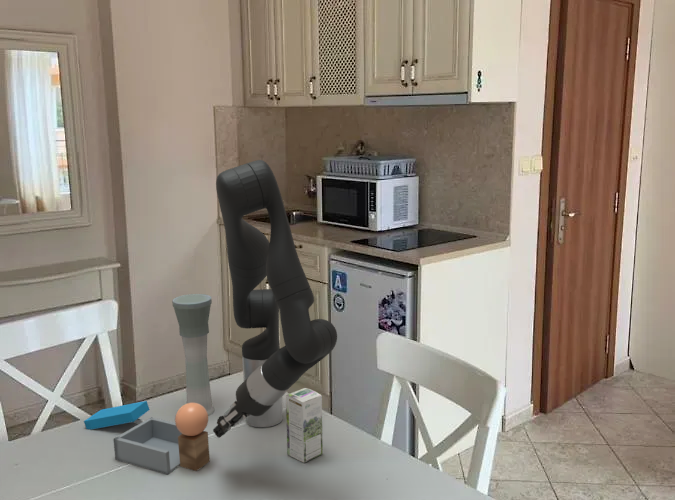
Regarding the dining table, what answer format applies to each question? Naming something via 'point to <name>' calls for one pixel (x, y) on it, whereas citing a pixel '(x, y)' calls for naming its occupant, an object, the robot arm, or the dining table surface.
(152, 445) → the tray
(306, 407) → the syrup box
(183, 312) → the container
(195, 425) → the ball
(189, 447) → the wooden block
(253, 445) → the dining table surface
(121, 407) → the lever
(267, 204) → the robot arm
